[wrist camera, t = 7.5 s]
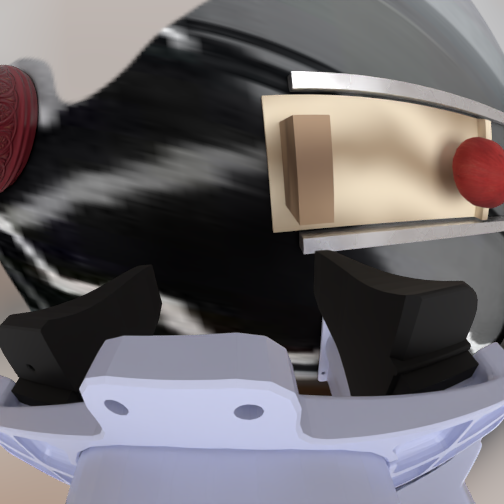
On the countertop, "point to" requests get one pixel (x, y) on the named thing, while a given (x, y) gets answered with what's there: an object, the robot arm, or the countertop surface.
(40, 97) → the countertop surface
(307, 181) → the cream shallow tray
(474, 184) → the onion
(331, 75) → the guide rails
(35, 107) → the canister
